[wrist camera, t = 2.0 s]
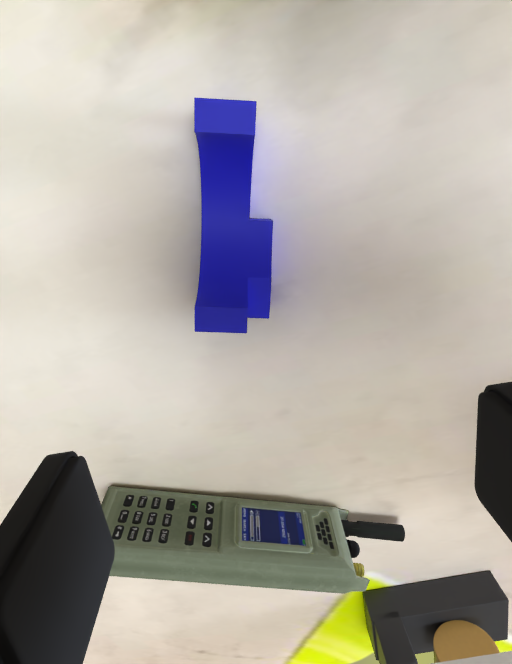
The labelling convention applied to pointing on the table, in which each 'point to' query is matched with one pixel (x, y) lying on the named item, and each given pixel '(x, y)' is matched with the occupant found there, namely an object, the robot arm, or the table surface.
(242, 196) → the blue semicircular clamp bracket
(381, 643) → the tape dispenser
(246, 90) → the table surface
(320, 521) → the handheld radio
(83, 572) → the robot arm
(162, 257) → the table surface
